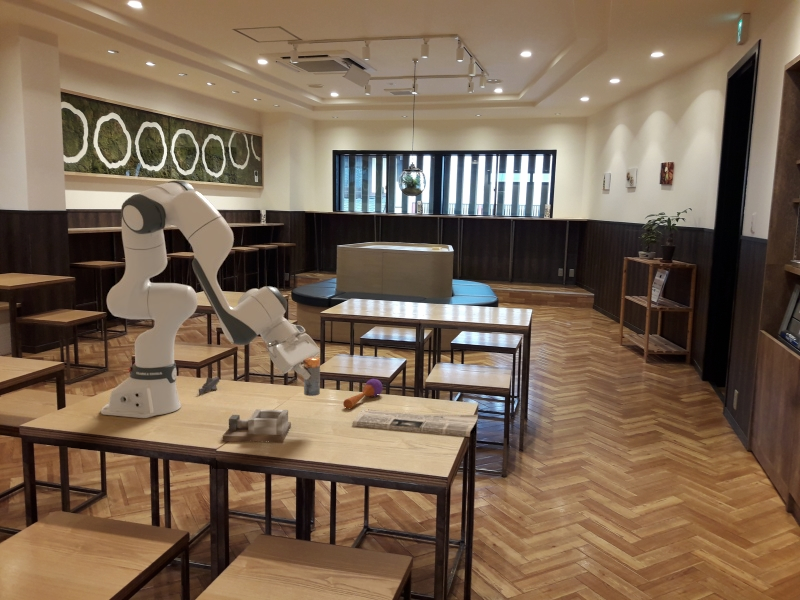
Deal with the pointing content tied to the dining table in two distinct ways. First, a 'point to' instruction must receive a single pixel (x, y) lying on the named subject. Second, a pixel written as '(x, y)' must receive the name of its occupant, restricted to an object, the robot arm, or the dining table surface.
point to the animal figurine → (209, 385)
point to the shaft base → (259, 427)
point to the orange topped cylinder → (314, 381)
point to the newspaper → (417, 422)
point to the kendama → (365, 392)
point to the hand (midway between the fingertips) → (313, 375)
